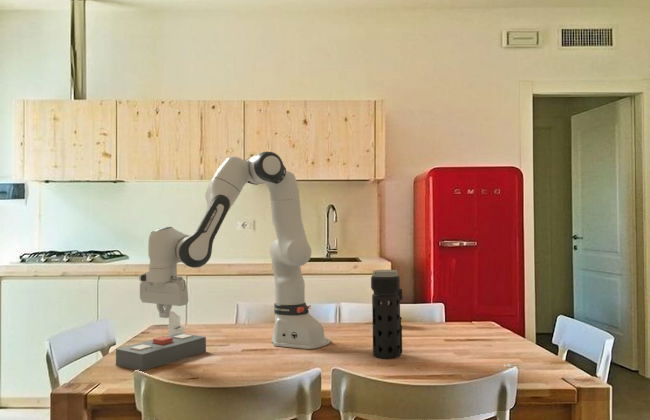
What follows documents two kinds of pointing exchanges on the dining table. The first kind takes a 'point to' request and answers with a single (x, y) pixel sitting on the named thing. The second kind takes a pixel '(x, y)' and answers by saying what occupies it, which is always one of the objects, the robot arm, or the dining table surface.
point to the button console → (160, 352)
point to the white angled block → (175, 324)
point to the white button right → (182, 336)
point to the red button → (162, 340)
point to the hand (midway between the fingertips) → (164, 317)
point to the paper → (510, 365)
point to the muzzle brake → (386, 314)
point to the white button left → (141, 347)
